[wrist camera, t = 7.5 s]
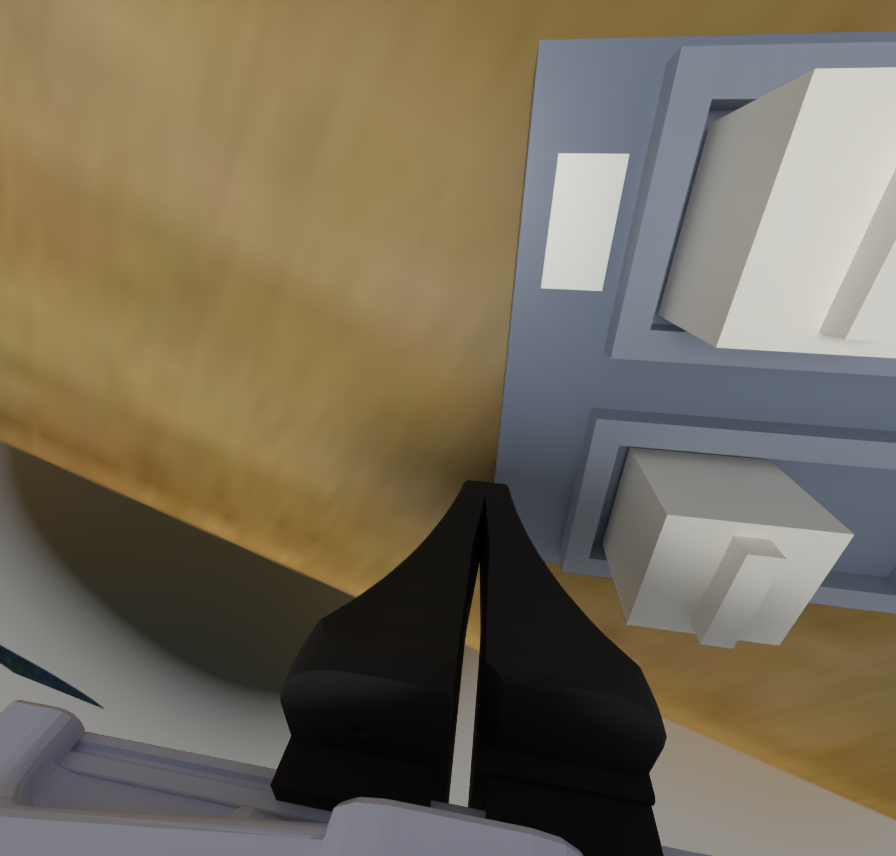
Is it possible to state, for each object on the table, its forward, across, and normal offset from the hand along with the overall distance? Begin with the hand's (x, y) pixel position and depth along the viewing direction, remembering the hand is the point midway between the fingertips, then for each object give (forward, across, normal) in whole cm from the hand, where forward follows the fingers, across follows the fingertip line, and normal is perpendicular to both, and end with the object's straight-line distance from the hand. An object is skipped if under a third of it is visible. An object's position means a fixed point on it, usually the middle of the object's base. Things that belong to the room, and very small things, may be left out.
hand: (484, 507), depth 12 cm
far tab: (+1, -6, 0) cm, 6 cm away
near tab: (+1, -6, -8) cm, 10 cm away
